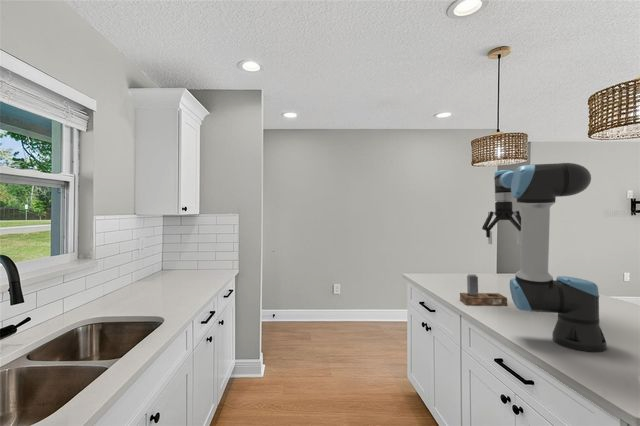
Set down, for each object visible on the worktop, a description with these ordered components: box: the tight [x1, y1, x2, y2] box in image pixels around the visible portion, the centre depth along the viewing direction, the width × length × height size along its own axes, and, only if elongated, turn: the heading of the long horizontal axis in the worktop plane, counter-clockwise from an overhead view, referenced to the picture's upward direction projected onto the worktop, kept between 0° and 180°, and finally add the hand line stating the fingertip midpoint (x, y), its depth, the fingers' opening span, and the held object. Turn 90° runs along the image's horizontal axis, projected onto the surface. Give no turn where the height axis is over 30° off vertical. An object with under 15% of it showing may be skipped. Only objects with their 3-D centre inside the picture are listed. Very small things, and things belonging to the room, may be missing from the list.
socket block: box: [459, 292, 508, 307], centre depth 170 cm, size 20×10×4 cm, turn 84°
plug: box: [466, 273, 479, 296], centre depth 171 cm, size 4×4×15 cm
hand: (504, 244), depth 161 cm, fingers open, 13 cm apart
